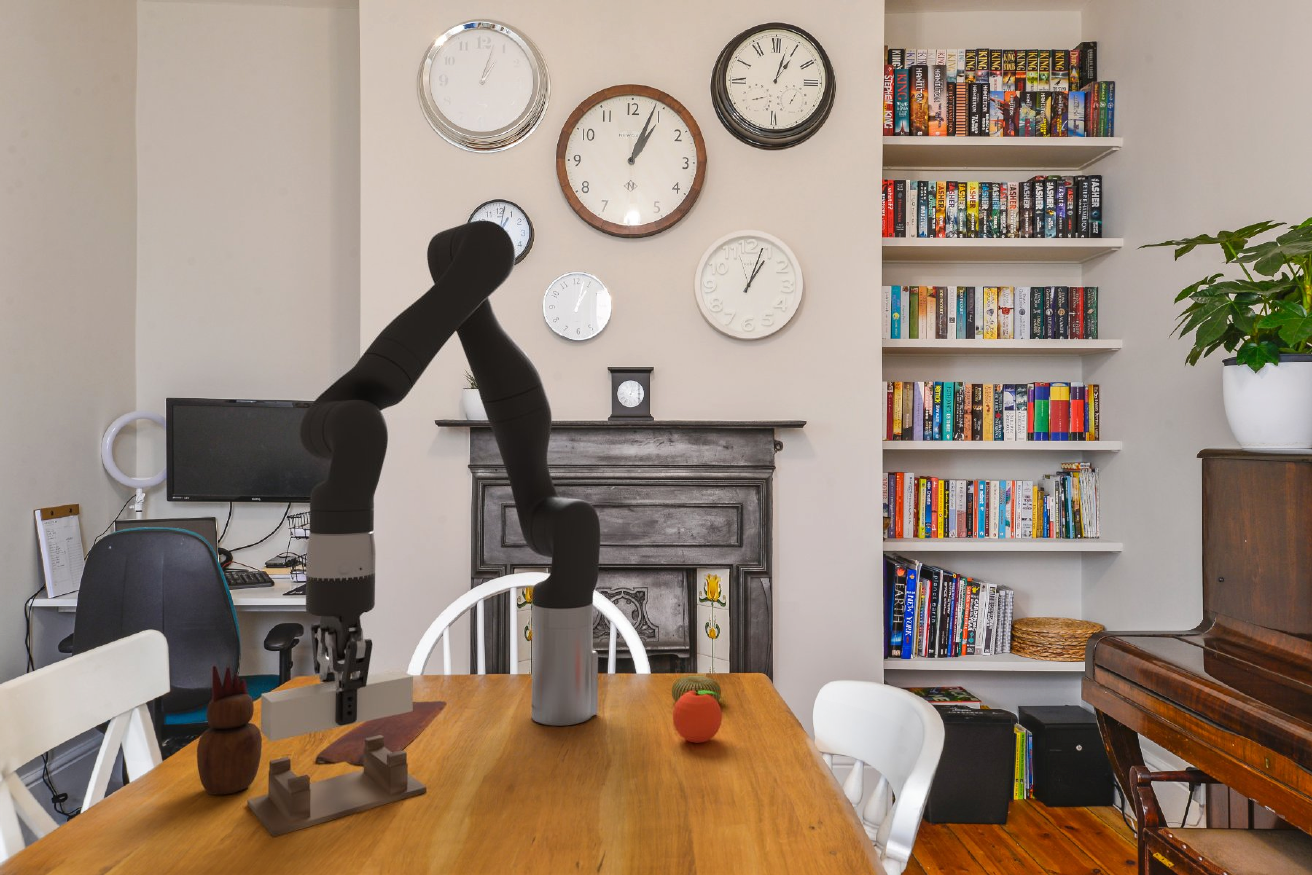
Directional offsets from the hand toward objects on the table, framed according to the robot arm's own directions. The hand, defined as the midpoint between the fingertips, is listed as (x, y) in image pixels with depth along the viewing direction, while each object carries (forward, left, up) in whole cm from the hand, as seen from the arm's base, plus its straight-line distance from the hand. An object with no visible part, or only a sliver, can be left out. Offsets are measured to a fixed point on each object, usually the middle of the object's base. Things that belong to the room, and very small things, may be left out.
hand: (338, 717), depth 93 cm
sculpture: (-56, +2, -10) cm, 57 cm away
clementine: (-45, +14, -10) cm, 48 cm away
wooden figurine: (+9, -11, -10) cm, 17 cm away
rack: (0, 0, -9) cm, 9 cm away
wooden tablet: (-14, -18, -10) cm, 25 cm away
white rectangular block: (0, 0, 0) cm, 0 cm away
